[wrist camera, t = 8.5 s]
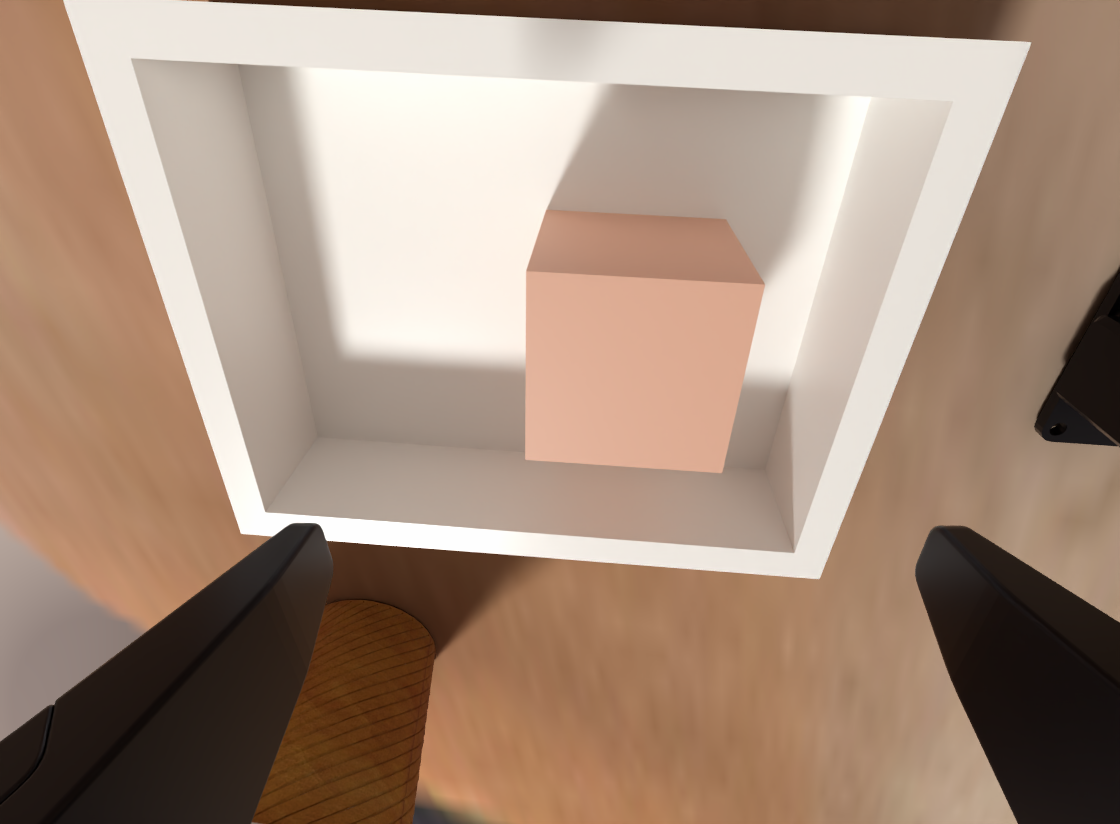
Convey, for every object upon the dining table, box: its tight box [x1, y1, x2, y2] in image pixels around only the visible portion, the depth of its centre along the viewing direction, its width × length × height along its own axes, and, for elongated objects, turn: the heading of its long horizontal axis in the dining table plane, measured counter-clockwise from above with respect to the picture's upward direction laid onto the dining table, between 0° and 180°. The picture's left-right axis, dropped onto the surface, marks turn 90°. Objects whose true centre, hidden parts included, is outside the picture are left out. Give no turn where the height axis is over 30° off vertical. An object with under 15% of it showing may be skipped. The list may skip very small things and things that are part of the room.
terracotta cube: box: [525, 210, 765, 473], centre depth 16 cm, size 5×5×5 cm
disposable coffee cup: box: [251, 600, 435, 824], centre depth 25 cm, size 10×10×12 cm
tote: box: [63, 0, 1031, 579], centre depth 17 cm, size 18×14×5 cm
